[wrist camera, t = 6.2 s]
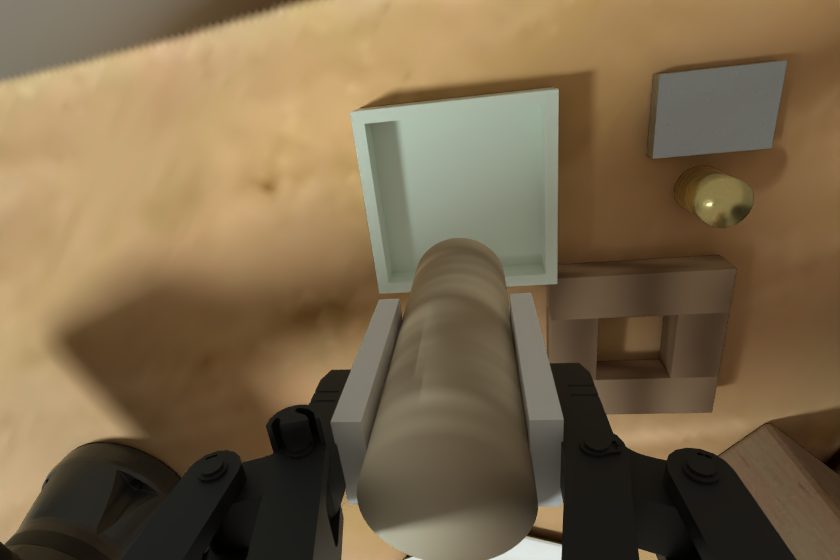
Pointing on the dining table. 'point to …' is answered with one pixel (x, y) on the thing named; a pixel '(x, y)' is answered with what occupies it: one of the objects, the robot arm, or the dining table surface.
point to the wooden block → (791, 491)
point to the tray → (462, 181)
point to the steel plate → (715, 109)
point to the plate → (528, 550)
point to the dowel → (451, 418)
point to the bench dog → (714, 196)
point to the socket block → (645, 296)
